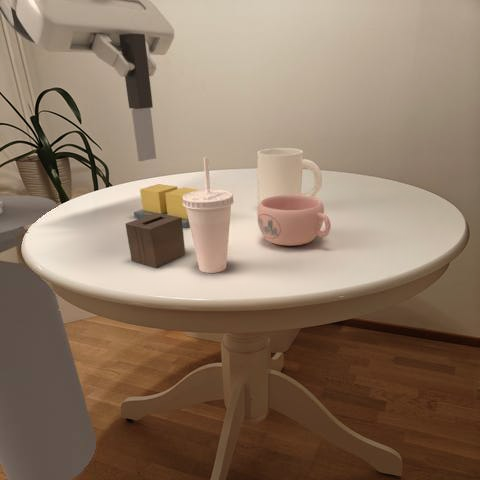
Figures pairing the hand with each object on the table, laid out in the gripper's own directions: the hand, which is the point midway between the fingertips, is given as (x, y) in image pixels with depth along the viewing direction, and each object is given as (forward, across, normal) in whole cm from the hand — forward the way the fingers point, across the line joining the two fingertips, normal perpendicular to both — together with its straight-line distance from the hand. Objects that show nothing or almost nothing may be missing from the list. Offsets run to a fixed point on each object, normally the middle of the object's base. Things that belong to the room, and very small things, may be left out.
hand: (139, 72), depth 53 cm
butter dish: (+9, -14, -24) cm, 29 cm away
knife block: (+18, +3, -15) cm, 23 cm away
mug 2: (+28, -13, -5) cm, 31 cm away
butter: (+9, -14, -24) cm, 29 cm away
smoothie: (+24, +2, -8) cm, 26 cm away
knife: (+7, 0, -8) cm, 10 cm away
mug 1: (+20, -29, -12) cm, 37 cm away
